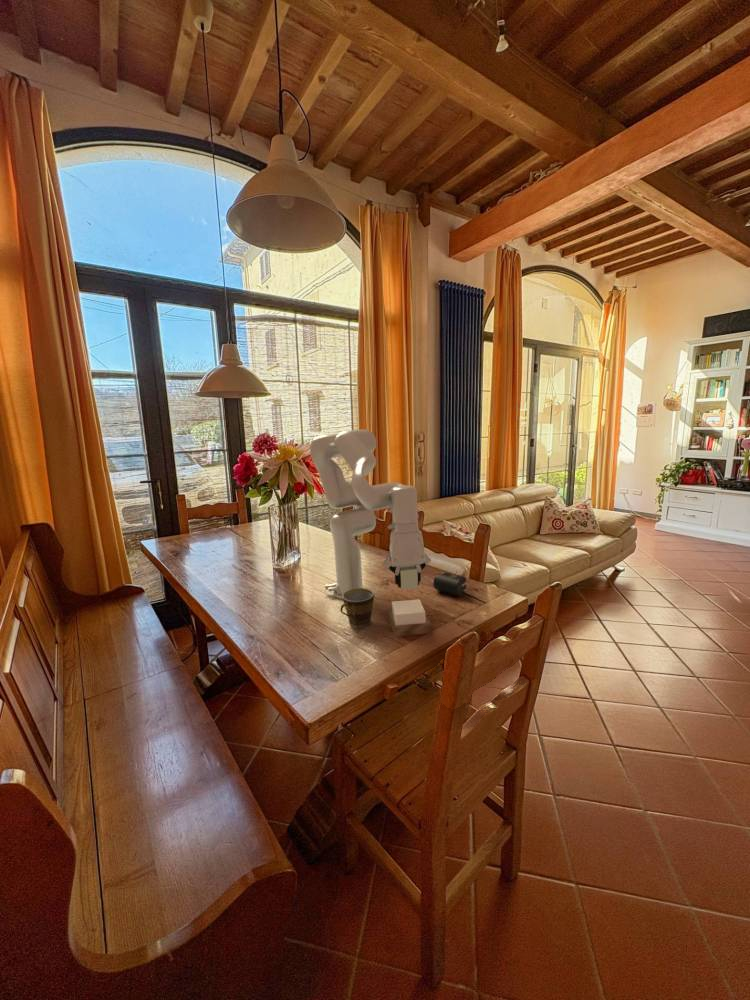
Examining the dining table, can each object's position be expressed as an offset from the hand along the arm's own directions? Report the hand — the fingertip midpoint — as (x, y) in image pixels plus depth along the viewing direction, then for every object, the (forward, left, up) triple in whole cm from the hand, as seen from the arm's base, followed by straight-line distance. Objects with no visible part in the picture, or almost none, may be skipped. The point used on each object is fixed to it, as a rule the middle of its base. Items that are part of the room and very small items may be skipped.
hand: (408, 584), depth 123 cm
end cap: (+20, +20, -14) cm, 32 cm away
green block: (0, 0, -1) cm, 1 cm away
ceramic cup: (-16, +4, -14) cm, 22 cm away
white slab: (0, 0, -11) cm, 11 cm away
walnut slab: (0, 0, -14) cm, 14 cm away
